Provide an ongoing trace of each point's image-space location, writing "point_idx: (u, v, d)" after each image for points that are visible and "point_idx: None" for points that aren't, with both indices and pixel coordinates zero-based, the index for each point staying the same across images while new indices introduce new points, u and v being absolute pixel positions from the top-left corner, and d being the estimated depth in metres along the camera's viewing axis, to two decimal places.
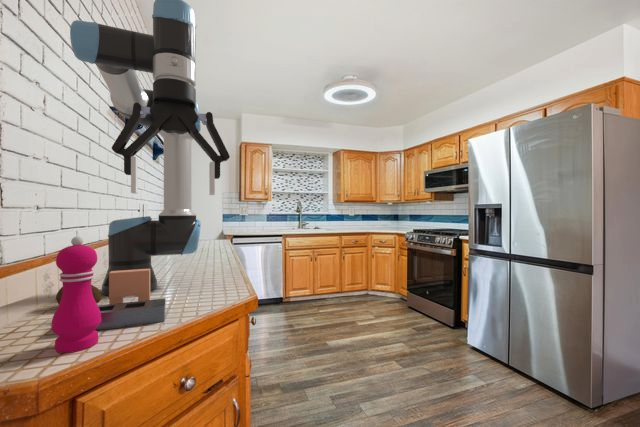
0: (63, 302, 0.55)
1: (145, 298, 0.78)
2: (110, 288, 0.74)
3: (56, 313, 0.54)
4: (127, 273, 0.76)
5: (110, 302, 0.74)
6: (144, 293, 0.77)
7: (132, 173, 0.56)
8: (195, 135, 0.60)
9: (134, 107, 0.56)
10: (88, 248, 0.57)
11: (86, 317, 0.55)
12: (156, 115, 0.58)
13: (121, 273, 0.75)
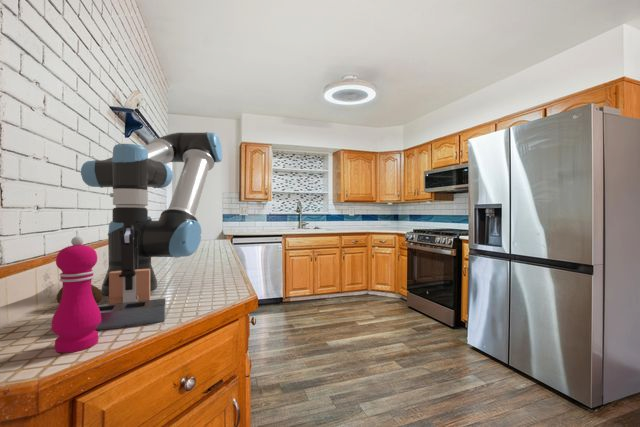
0: (63, 302, 0.55)
1: (145, 298, 0.78)
2: (110, 288, 0.74)
3: (56, 313, 0.54)
4: None
5: (110, 302, 0.74)
6: (144, 293, 0.77)
7: None
8: None
9: None
10: (88, 248, 0.57)
11: (86, 317, 0.55)
12: None
13: None
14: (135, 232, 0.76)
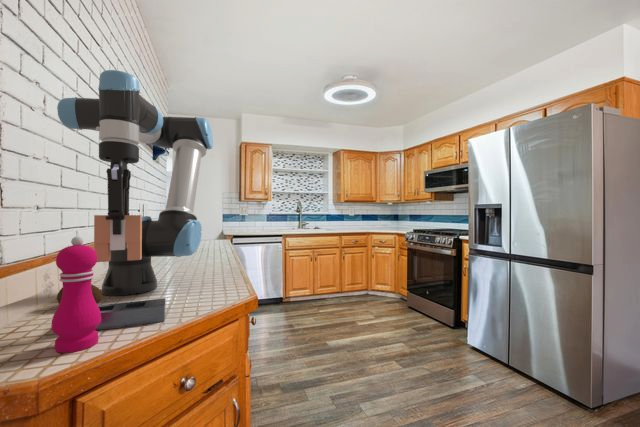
0: (63, 302, 0.55)
1: (136, 246, 0.69)
2: (95, 232, 0.66)
3: (56, 313, 0.54)
4: None
5: (95, 248, 0.66)
6: (134, 240, 0.69)
7: None
8: None
9: None
10: (88, 248, 0.57)
11: (86, 317, 0.55)
12: None
13: None
14: (124, 171, 0.68)
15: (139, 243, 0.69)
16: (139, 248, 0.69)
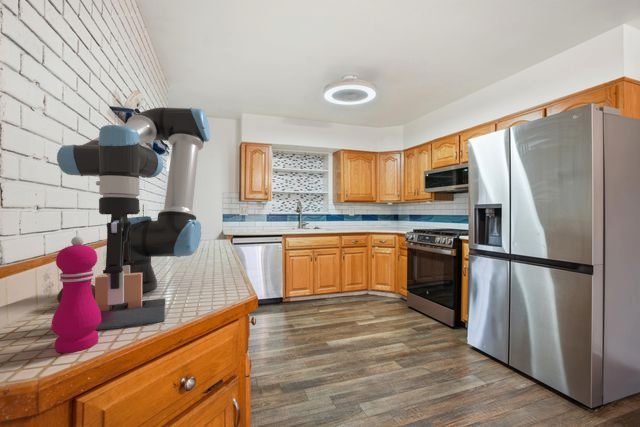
0: (63, 302, 0.55)
1: (136, 305, 0.69)
2: (96, 294, 0.66)
3: (56, 313, 0.54)
4: None
5: None
6: (135, 300, 0.69)
7: None
8: None
9: None
10: (88, 248, 0.57)
11: (86, 317, 0.55)
12: None
13: None
14: (125, 224, 0.68)
15: (140, 302, 0.69)
16: None
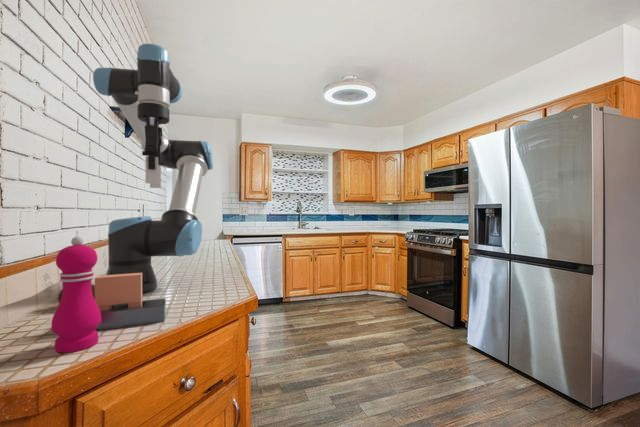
0: (63, 302, 0.55)
1: (136, 305, 0.69)
2: (96, 295, 0.66)
3: (56, 313, 0.54)
4: (115, 278, 0.67)
5: None
6: (135, 300, 0.69)
7: None
8: None
9: None
10: (88, 248, 0.57)
11: (86, 317, 0.55)
12: None
13: (109, 278, 0.67)
14: (158, 127, 0.81)
15: (140, 302, 0.69)
16: None
